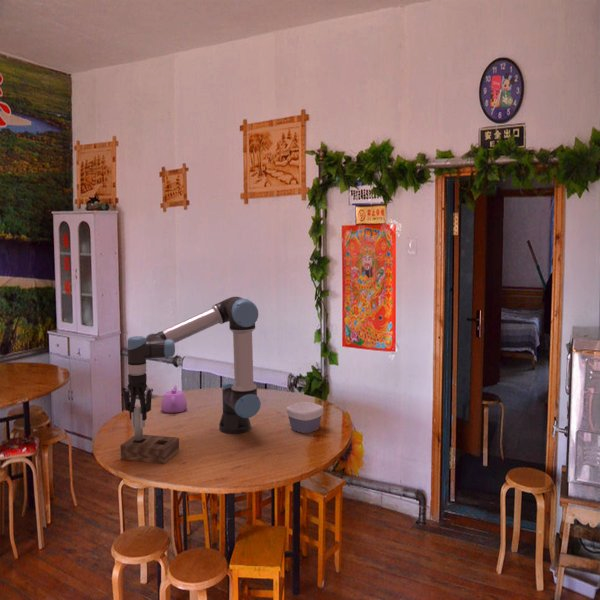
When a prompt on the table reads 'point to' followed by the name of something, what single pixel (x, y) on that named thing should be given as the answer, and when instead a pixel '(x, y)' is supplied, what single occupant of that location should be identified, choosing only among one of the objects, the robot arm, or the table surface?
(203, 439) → the table surface
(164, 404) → the teapot
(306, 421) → the lidded storage container
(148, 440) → the block
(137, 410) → the pin
